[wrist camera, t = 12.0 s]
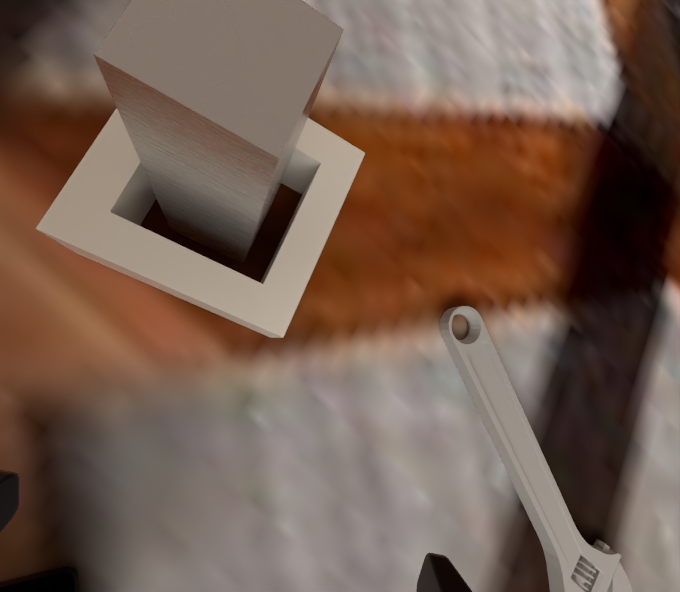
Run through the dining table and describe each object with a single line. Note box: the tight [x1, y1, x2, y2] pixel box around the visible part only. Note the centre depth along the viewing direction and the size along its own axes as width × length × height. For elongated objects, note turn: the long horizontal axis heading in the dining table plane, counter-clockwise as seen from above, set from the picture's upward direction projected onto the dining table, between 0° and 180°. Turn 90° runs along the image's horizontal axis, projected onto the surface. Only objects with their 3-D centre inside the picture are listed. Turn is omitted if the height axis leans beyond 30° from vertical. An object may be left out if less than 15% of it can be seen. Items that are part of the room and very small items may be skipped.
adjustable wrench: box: [439, 306, 632, 592], centre depth 24 cm, size 25×6×2 cm, turn 22°
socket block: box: [36, 108, 365, 338], centre depth 17 cm, size 10×10×4 cm
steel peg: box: [94, 0, 344, 263], centre depth 14 cm, size 4×4×12 cm
